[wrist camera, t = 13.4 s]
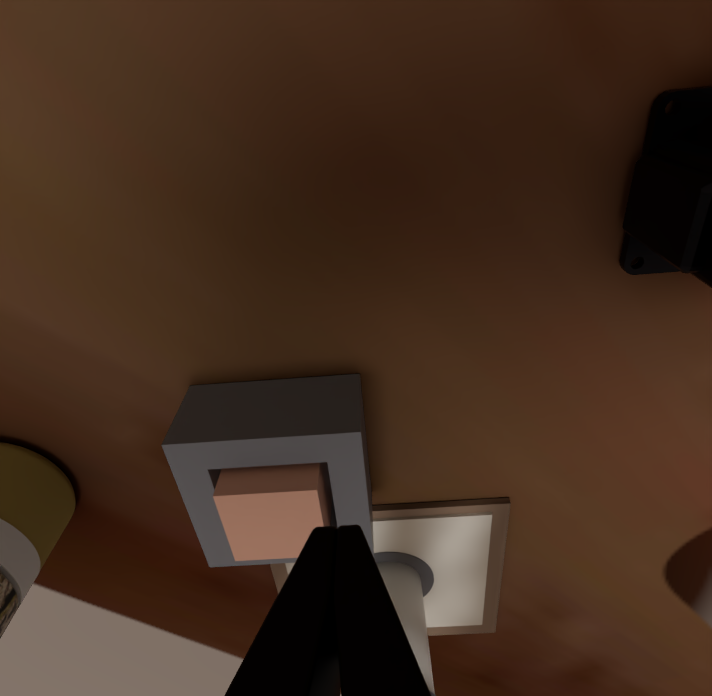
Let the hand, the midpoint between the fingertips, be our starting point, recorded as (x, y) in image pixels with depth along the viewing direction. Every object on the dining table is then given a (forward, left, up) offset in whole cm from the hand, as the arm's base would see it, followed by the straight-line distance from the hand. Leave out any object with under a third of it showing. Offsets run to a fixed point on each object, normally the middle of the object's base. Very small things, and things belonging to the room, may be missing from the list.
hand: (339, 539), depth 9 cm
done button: (+4, +10, -12) cm, 16 cm away
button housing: (+4, +9, -13) cm, 17 cm away
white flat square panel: (-1, +21, -13) cm, 25 cm away
